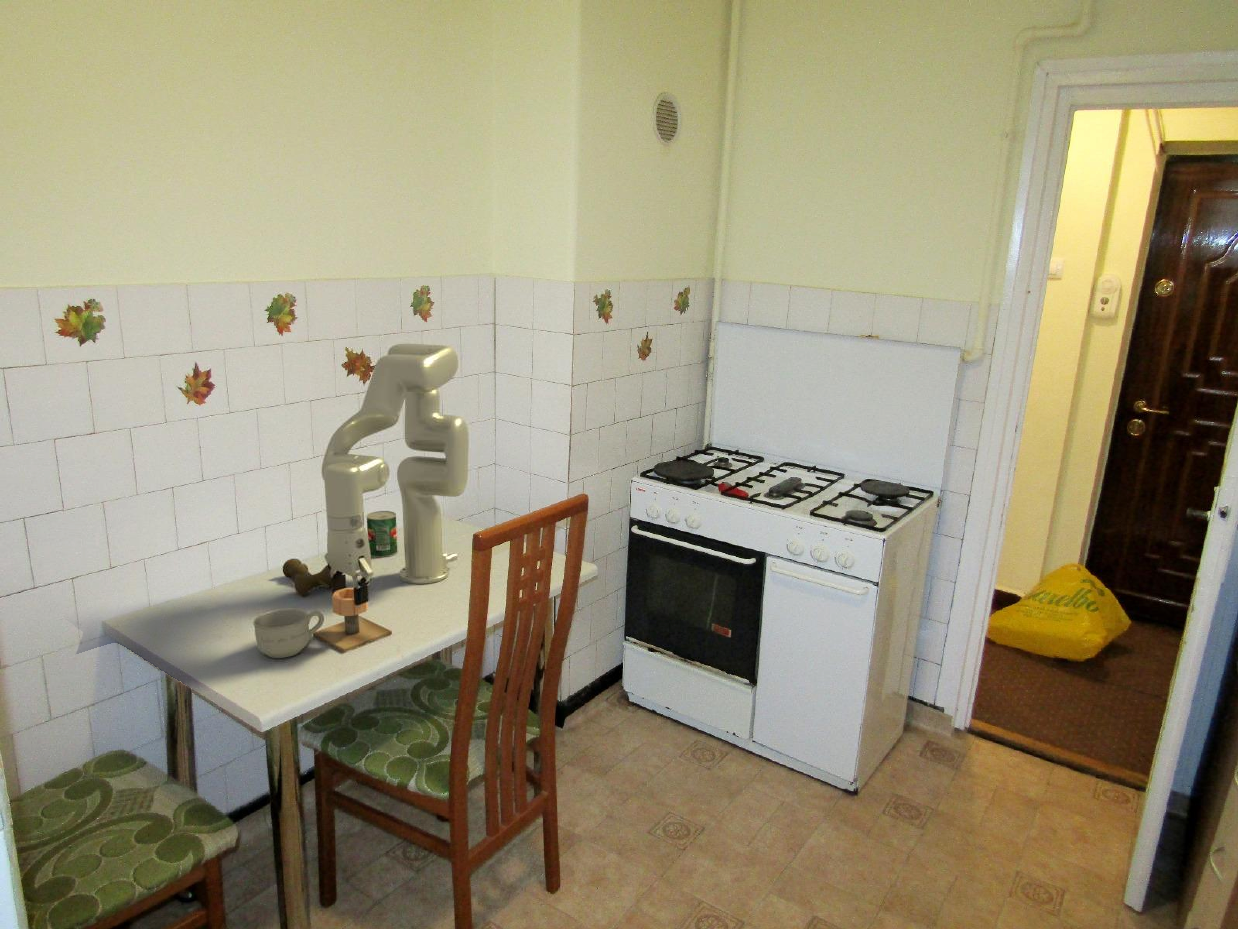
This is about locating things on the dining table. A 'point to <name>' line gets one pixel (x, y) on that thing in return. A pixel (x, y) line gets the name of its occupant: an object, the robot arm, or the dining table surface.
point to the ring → (347, 603)
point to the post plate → (352, 640)
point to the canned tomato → (382, 533)
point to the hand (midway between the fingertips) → (350, 597)
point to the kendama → (306, 576)
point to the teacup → (284, 631)
